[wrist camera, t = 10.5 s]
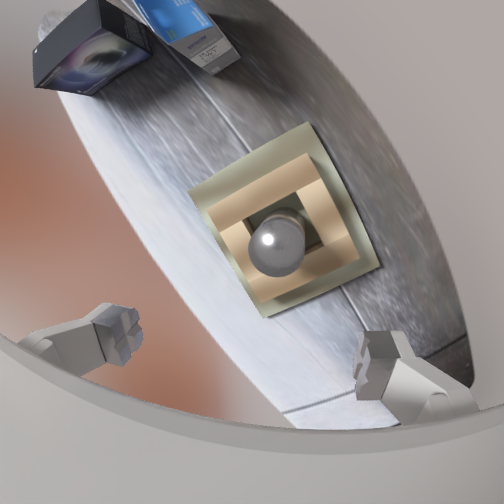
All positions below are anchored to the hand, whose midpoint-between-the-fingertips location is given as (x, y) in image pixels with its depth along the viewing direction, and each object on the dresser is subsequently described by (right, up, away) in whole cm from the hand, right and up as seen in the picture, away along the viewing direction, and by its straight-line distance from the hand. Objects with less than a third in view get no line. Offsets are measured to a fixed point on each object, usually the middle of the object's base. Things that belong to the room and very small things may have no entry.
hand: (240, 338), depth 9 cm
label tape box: (-4, +26, +14) cm, 30 cm away
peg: (+4, +5, +18) cm, 19 cm away
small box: (-17, +27, +16) cm, 36 cm away
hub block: (+4, +6, +18) cm, 20 cm away
